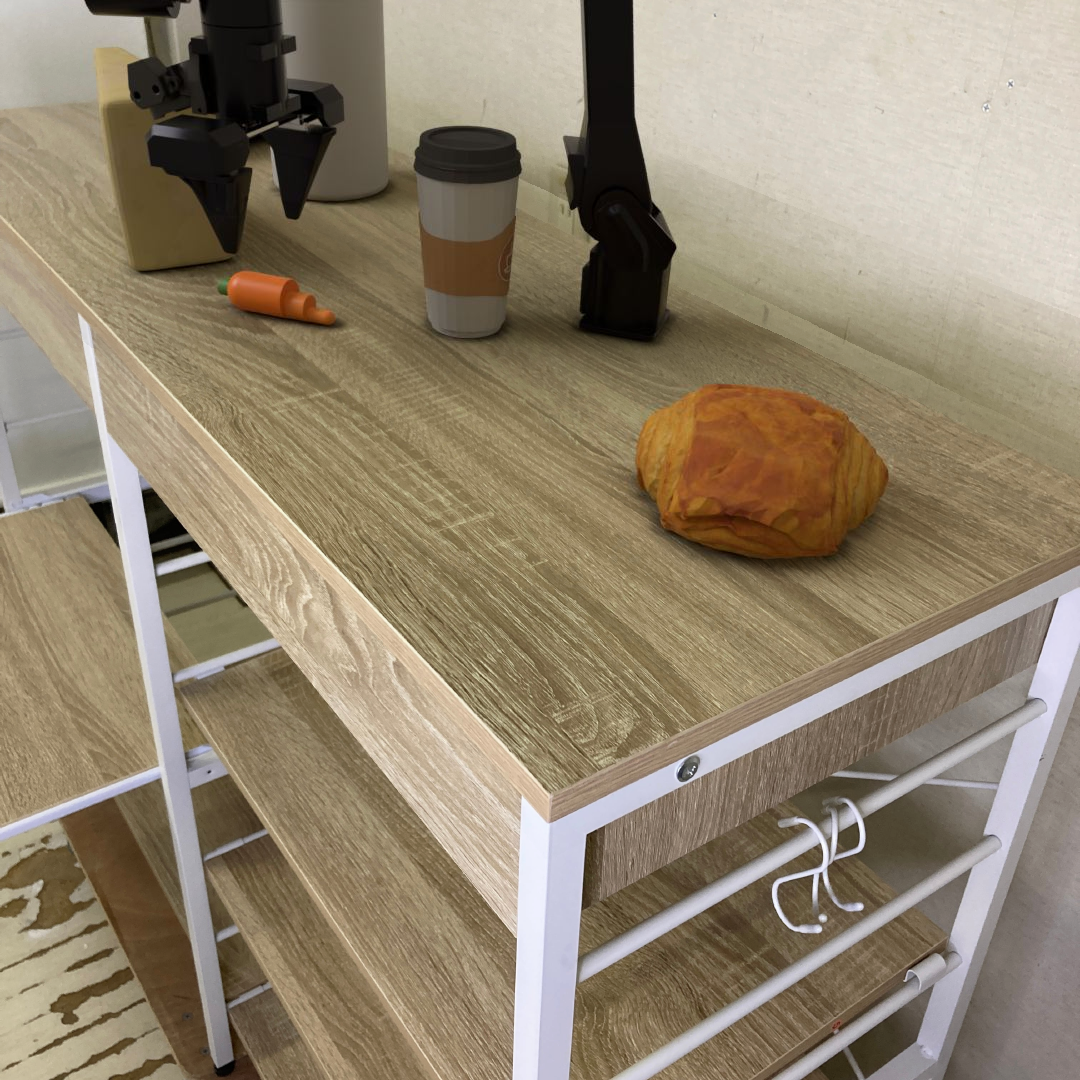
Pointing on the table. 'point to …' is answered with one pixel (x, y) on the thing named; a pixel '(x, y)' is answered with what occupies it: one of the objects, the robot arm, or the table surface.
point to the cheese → (147, 179)
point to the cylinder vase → (344, 89)
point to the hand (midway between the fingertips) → (263, 235)
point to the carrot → (273, 297)
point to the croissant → (759, 471)
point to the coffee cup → (467, 225)
